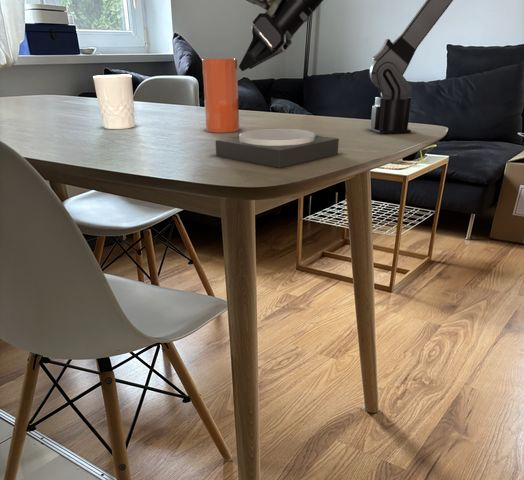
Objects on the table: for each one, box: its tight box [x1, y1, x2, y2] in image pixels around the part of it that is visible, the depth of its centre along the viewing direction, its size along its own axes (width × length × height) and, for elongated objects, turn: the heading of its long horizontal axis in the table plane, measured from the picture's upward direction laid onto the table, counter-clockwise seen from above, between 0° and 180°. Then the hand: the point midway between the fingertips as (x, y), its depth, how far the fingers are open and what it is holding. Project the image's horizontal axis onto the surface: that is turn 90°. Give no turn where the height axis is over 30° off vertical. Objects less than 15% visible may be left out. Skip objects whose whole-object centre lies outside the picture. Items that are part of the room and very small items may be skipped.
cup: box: [201, 58, 240, 134], centre depth 104 cm, size 7×7×13 cm
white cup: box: [92, 74, 136, 130], centre depth 110 cm, size 8×8×10 cm
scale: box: [215, 128, 340, 169], centre depth 82 cm, size 14×14×3 cm
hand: (244, 68), depth 101 cm, fingers open, 9 cm apart
